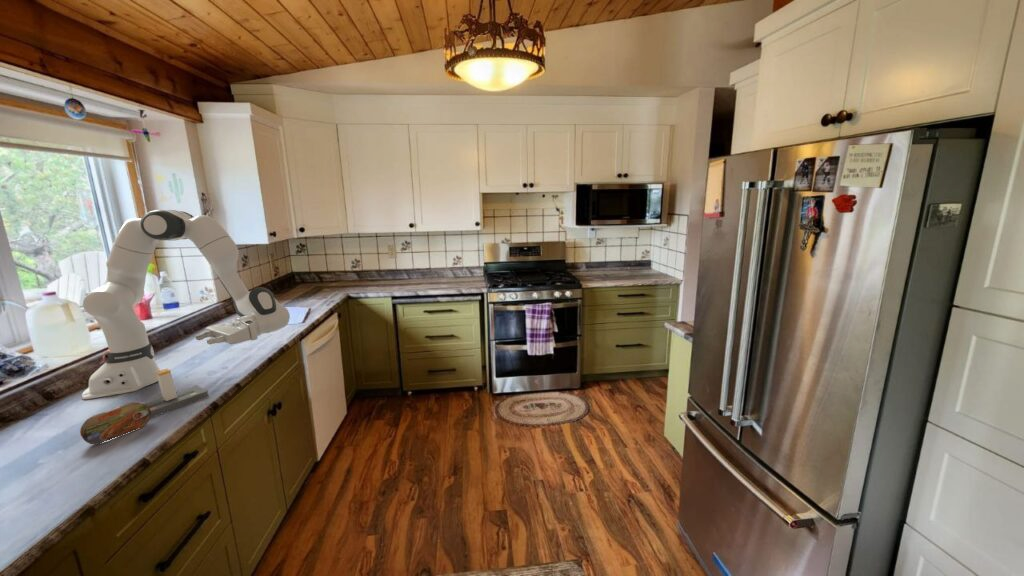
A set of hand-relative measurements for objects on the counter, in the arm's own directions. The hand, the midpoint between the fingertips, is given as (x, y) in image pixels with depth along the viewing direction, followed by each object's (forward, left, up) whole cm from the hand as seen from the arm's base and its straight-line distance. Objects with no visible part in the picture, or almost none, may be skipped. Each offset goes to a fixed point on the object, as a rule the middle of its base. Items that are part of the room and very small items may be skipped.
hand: (201, 340), depth 142 cm
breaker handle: (-11, -5, -16) cm, 20 cm away
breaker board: (-11, -5, -19) cm, 22 cm away
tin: (-21, -19, -19) cm, 34 cm away
